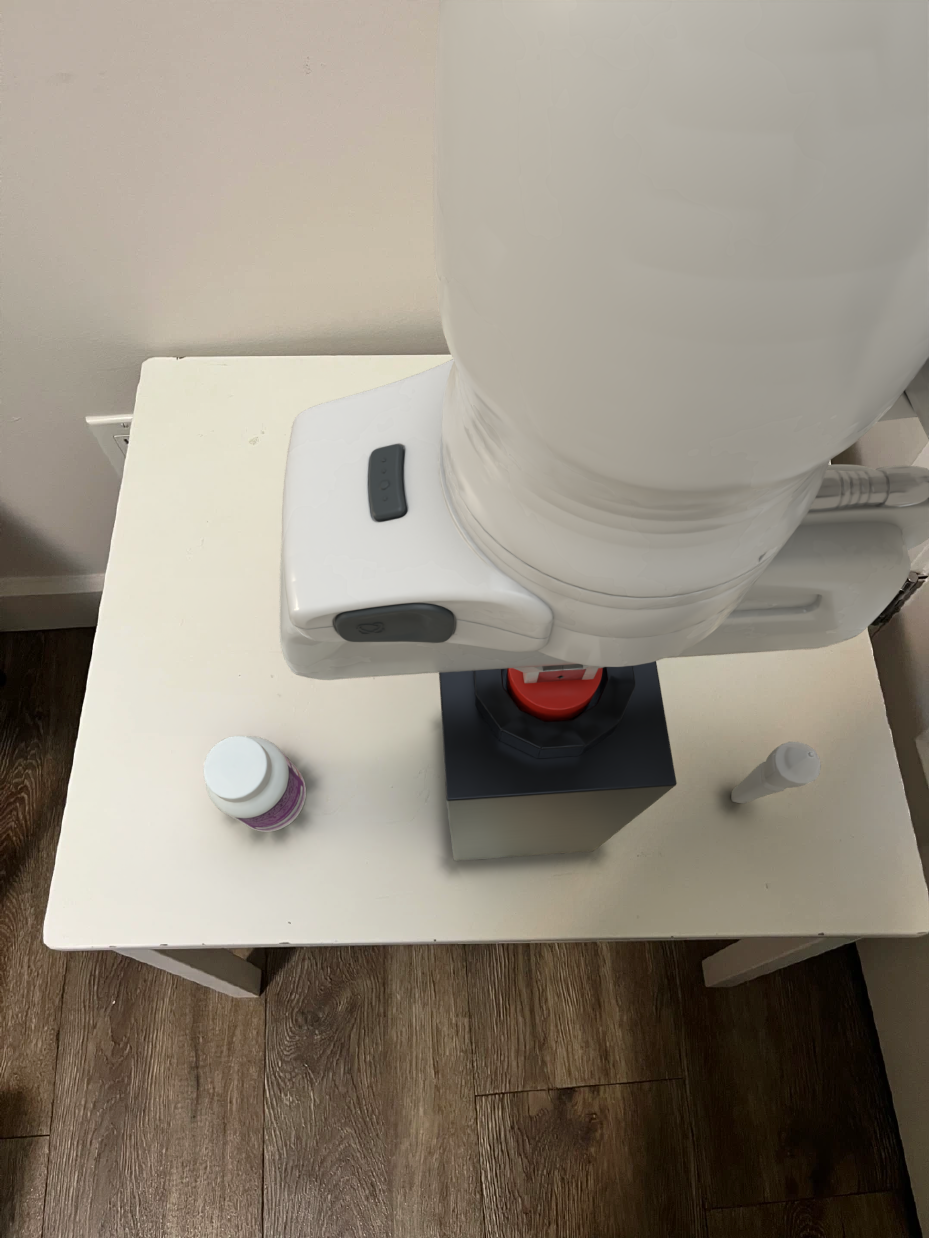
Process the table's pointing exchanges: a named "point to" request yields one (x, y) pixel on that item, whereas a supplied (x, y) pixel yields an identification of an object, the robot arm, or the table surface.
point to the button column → (550, 764)
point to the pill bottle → (254, 782)
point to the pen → (779, 772)
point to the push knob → (552, 695)
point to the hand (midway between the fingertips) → (555, 664)
